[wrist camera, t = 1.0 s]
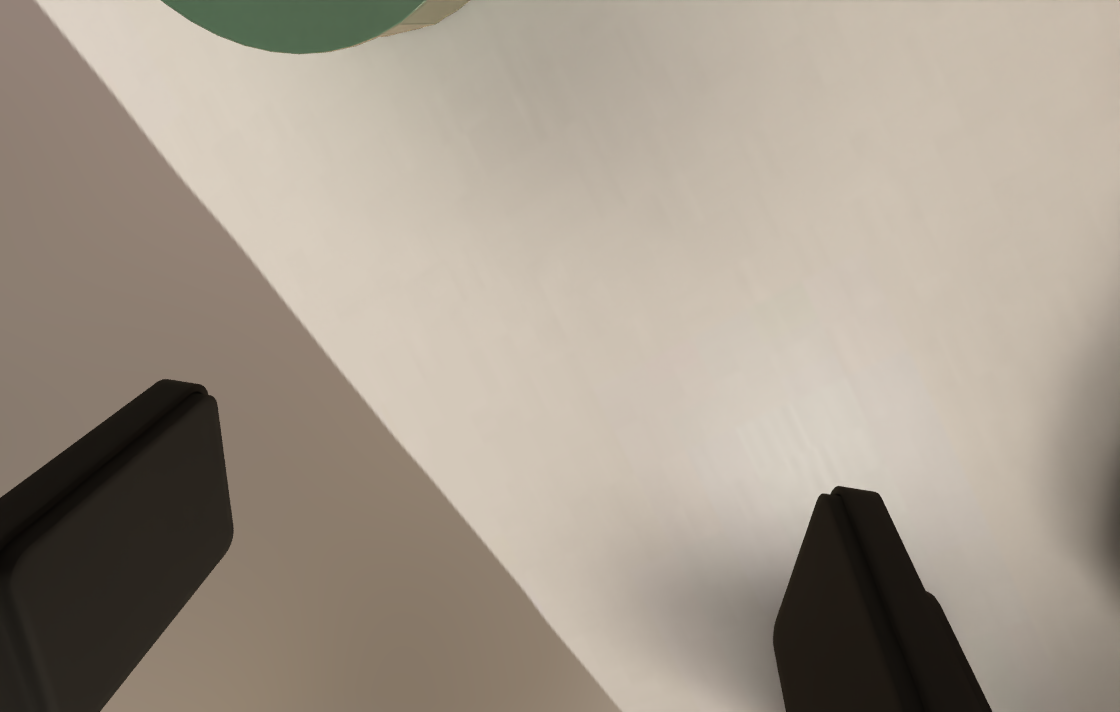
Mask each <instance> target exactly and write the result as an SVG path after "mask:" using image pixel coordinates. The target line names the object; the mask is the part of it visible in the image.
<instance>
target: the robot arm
mask: <svg viewBox="0 0 1120 712" xmlns="http://www.w3.org/2000/svg"><path fill="white" fill-rule="evenodd" d="M232 538H233V521H232V513H231V506H230V498H229V490H228V482H227V476H226V467H225V459H224V453H223V444H222V436H221V429H220V422H219V413H218V407H217V402H216V400H215V398H214V397H213V396H211V395H208V392H207V390H206V388H205V387H204V386H202V385H200V384H194V383H188V382H182V381H176V380H169V379H163V380H161V381H158V382H157V383H155V384H154V385H153V386H151V387H150V388H148V389H147V390H146V391H145V392H143V393H142V394H140V395H139V396H138V397H137V398H135V399H134V400H132V401H131V402H130V403H128V404H127V405H125V406H124V407H123V408H121V409H120V410H119V411H117V412H116V413H115V414H113V415H112V416H111V417H109V418H108V419H107V420H105V421H104V422H102V423H101V424H100V425H98V426H97V427H96V428H95V429H93V430H92V431H90V432H89V433H88V434H86V435H85V436H84V437H82V438H81V439H79V440H78V441H77V442H75V443H74V444H73V445H71V446H70V447H69V448H67V449H66V450H65V451H63V452H62V453H61V454H59V455H58V456H56V457H55V458H54V459H52V460H51V461H50V462H48V463H47V464H46V465H44V466H43V467H42V468H40V469H39V470H37V471H36V472H35V473H33V474H32V475H31V476H30V477H28V478H27V479H25V480H24V481H23V482H21V483H20V484H18V485H17V486H16V487H14V488H13V489H12V490H11V491H9V492H8V493H6V494H5V495H4V496H2V497H1V498H0V712H100V711H101V710H102V708H103V707H104V706H105V705H106V703H107V702H108V701H109V700H110V698H111V697H112V696H113V695H114V693H115V692H116V691H117V690H118V688H119V687H120V686H121V684H122V683H123V682H124V681H125V680H126V678H127V677H128V676H129V674H130V673H131V672H132V671H133V669H134V668H135V667H136V666H137V664H138V663H139V662H140V661H141V659H142V658H143V657H144V656H145V654H146V653H147V652H148V651H149V649H150V648H151V647H152V646H153V644H154V643H155V642H156V640H157V639H158V638H159V637H160V635H161V634H162V633H163V632H164V630H165V629H166V628H167V627H168V625H169V624H170V623H171V622H172V620H173V619H174V618H175V617H176V615H177V614H178V613H179V612H180V610H181V609H182V608H183V607H184V605H185V604H186V603H187V602H188V600H189V599H190V598H191V597H192V595H193V594H194V593H195V591H196V590H197V589H198V588H199V586H200V585H201V584H202V583H203V581H204V580H205V579H206V577H207V576H208V575H209V574H210V573H211V571H212V570H213V569H214V567H215V566H216V565H217V564H218V563H219V561H220V560H221V559H222V558H223V556H224V555H225V554H226V552H227V551H228V549H229V547H230V545H231V542H232ZM773 645H774V652H775V657H776V662H777V667H778V673H779V678H780V683H781V688H782V694H783V699H784V704H785V709H786V712H992V710H991V708H990V706H989V704H988V702H987V700H986V698H985V696H984V694H983V692H982V690H981V688H980V686H979V683H978V681H977V679H976V677H975V675H974V673H973V671H972V669H971V667H970V665H969V663H968V661H967V659H966V657H965V655H964V653H963V651H962V649H961V647H960V644H959V642H958V640H957V638H956V636H955V634H954V632H953V630H952V628H951V626H950V624H949V622H948V620H947V618H946V616H945V614H944V612H943V610H942V607H941V605H940V604H939V602H938V601H937V599H936V598H935V596H933V595H932V594H930V593H929V592H927V591H925V589H924V587H923V585H922V582H921V580H920V578H919V576H918V574H917V572H916V570H915V568H914V566H913V563H912V561H911V559H910V557H909V555H908V553H907V551H906V549H905V547H904V544H903V542H902V540H901V538H900V536H899V534H898V532H897V530H896V527H895V525H894V523H893V521H892V519H891V517H890V515H889V513H888V511H887V508H886V506H885V504H884V502H883V500H882V498H881V496H880V495H879V494H878V493H876V492H873V491H866V490H860V489H854V488H848V487H841V486H837V487H835V488H834V489H833V491H832V492H831V494H821V495H820V496H819V497H818V500H817V502H816V505H815V508H814V511H813V514H812V516H811V519H810V522H809V525H808V528H807V531H806V534H805V537H804V540H803V543H802V546H801V548H800V551H799V554H798V557H797V560H796V563H795V566H794V569H793V572H792V575H791V578H790V580H789V583H788V586H787V589H786V592H785V595H784V598H783V601H782V604H781V607H780V610H779V613H778V615H777V618H776V621H775V625H774V633H773Z"/></svg>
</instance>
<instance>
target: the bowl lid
mask: <svg viewBox="0 0 1120 712" xmlns="http://www.w3.org/2000/svg"><path fill="white" fill-rule="evenodd" d="M161 1H163V2H164V3H165V4H166V5H168V6H169V7H171V8H172V9H174V10H175V11H177V12H178V13H179V14H181V15H182V16H184V17H185V18H187V19H188V20H190V21H191V22H193V23H195V24H197V25H199V26H201V27H202V28H204V29H206V30H208V31H210V32H212V33H214V34H216V35H218V36H220V37H223V38H226V39H228V40H231V41H234V42H236V43H239V44H242V45H244V46H248V47H253V48H257V49H261V50H266V51H270V52H279V53H291V54H309V53H324V52H332V51H336V50H341V49H345V48H350V47H354V46H357V45H360V44H363V43H365V42H368V41H370V40H373V39H375V38H378V37H380V36H382V35H384V34H385V33H387V32H389V31H391V30H392V29H394V28H396V27H397V26H399V25H401V24H403V23H404V22H405V21H407V20H408V19H409V18H410V17H412V16H413V15H414V14H415V13H417V12H418V11H419V10H420V9H421V8H423V7H424V6H425V5H426V4H427V3H428V2H429V1H430V0H161Z"/></svg>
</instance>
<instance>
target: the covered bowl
mask: <svg viewBox="0 0 1120 712" xmlns="http://www.w3.org/2000/svg"><path fill="white" fill-rule="evenodd" d="M469 1H470V0H430V1H429V2H428V3H427V4H426V5H425V6H424V7H423V8H421V9H420V10H419V11H418V12H417V13H415V14H414V15H413V16H412V17H410V18H409V19H408V20H407V21H405V22H404V23H403V24H401V25H399V26H397V27H396V28H394V29H392V30H391V31H389V32H387V33H385V34H384V35H382V36H380V37H387V36H391V35H395V34H399V33H403V32H407V31H412V30H416V29H421V28H423V27H427V26H431V25H435V24H437V23H439V22H440V21H441V20H443V19H444V18H446V17H447V16H449V15H451V14H453V13H454V12H456V11H457V10H459V9H460V8H461V7H463V6H464V5H465V4H466V3H468V2H469Z"/></svg>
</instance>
